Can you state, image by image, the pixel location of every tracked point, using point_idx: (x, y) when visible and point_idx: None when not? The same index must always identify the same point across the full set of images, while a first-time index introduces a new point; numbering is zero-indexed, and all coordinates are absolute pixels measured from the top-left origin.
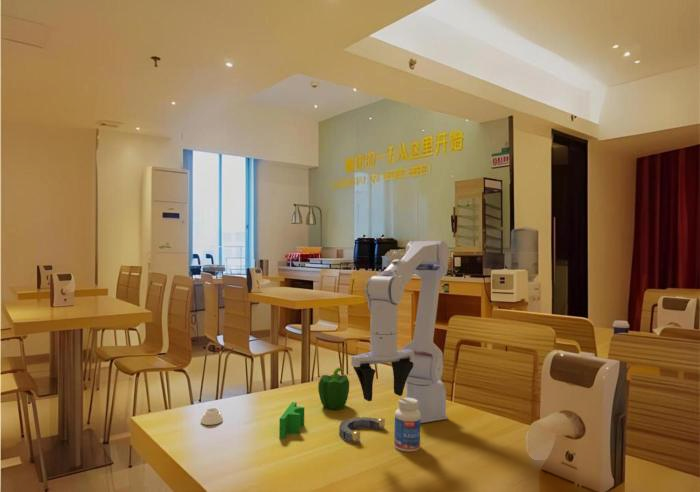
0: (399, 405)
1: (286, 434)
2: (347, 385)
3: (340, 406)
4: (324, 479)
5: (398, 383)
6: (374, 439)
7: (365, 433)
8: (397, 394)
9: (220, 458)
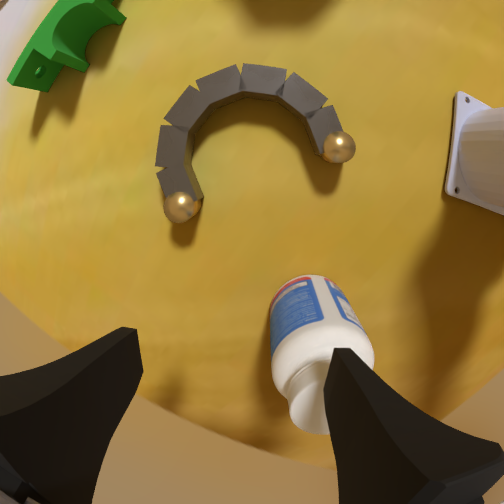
0: (289, 389)
1: (57, 72)
2: None
3: None
4: (60, 324)
5: (342, 422)
6: (256, 211)
7: (260, 152)
8: (327, 374)
9: None
